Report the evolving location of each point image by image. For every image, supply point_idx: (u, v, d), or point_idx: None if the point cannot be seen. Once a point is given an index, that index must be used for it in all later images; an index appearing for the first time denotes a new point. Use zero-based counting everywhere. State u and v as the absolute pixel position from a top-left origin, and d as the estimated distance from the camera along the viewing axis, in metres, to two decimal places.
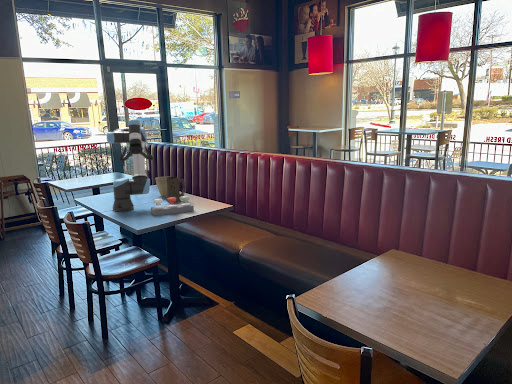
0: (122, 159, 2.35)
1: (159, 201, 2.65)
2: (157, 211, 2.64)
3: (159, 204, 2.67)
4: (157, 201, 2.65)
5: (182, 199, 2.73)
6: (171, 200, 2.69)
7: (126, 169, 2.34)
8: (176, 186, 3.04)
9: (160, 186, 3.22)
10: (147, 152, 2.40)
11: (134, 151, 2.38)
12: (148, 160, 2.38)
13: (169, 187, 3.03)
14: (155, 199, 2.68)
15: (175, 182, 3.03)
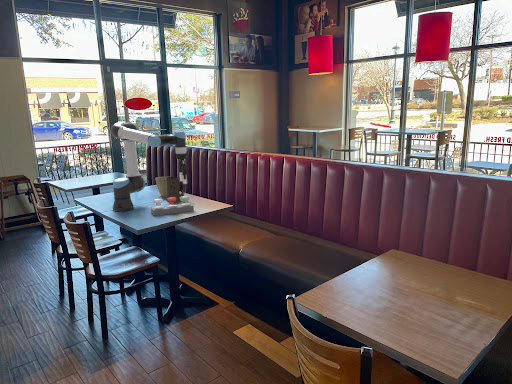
0: None
1: (159, 201, 2.65)
2: (157, 211, 2.64)
3: (159, 204, 2.67)
4: (157, 201, 2.65)
5: (182, 199, 2.73)
6: (171, 200, 2.69)
7: (183, 182, 2.64)
8: (176, 186, 3.04)
9: (160, 186, 3.22)
10: None
11: None
12: (182, 173, 2.77)
13: (169, 187, 3.03)
14: (155, 199, 2.68)
15: (175, 182, 3.03)
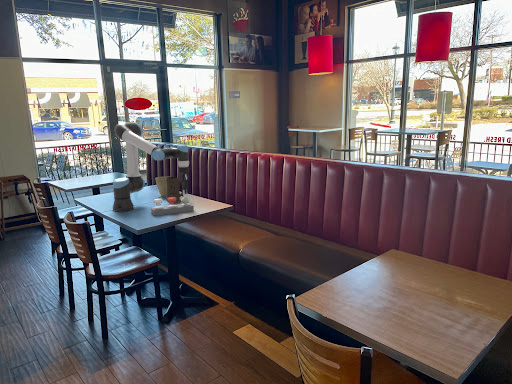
0: None
1: (159, 201, 2.65)
2: (157, 211, 2.64)
3: (159, 204, 2.67)
4: (157, 201, 2.65)
5: (182, 201, 2.74)
6: (171, 200, 2.69)
7: (184, 196, 2.75)
8: (176, 186, 3.04)
9: (160, 186, 3.22)
10: None
11: None
12: None
13: (169, 187, 3.03)
14: (155, 199, 2.68)
15: (175, 182, 3.03)
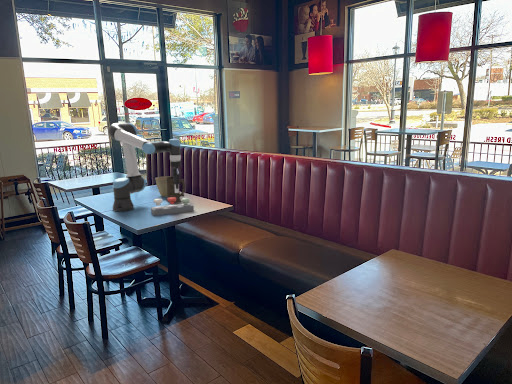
0: None
1: (159, 201, 2.65)
2: (157, 211, 2.64)
3: (159, 204, 2.67)
4: (157, 201, 2.65)
5: (182, 201, 2.74)
6: (171, 200, 2.69)
7: (175, 191, 2.72)
8: None
9: (160, 186, 3.22)
10: None
11: None
12: None
13: (169, 187, 3.03)
14: (155, 199, 2.68)
15: None
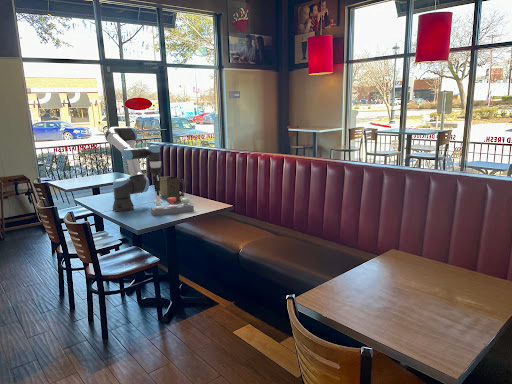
0: None
1: (159, 202, 2.65)
2: (157, 211, 2.64)
3: (159, 204, 2.67)
4: (157, 202, 2.65)
5: (182, 201, 2.74)
6: (171, 200, 2.69)
7: (156, 198, 2.66)
8: (176, 186, 3.04)
9: (160, 186, 3.22)
10: None
11: None
12: None
13: (169, 187, 3.03)
14: None
15: (175, 182, 3.03)
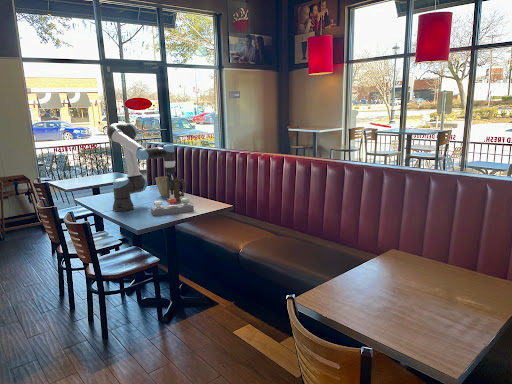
0: None
1: (159, 203, 2.65)
2: (157, 211, 2.64)
3: (159, 206, 2.67)
4: (157, 203, 2.65)
5: (182, 201, 2.74)
6: (171, 201, 2.69)
7: (170, 197, 2.71)
8: (176, 186, 3.04)
9: (160, 186, 3.22)
10: None
11: None
12: None
13: None
14: (155, 201, 2.68)
15: (175, 182, 3.03)
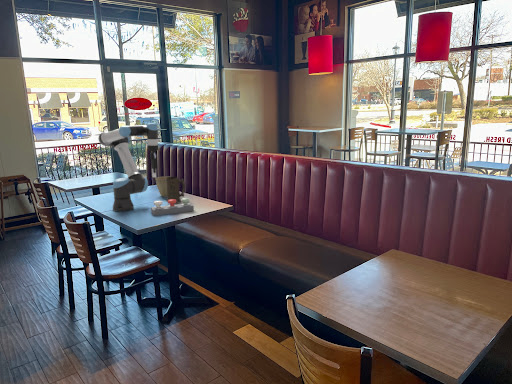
0: None
1: (159, 203, 2.65)
2: (157, 211, 2.64)
3: (159, 206, 2.67)
4: (157, 203, 2.65)
5: (182, 201, 2.74)
6: (171, 202, 2.69)
7: None
8: (176, 186, 3.04)
9: (160, 186, 3.22)
10: None
11: None
12: None
13: (169, 187, 3.03)
14: (155, 201, 2.68)
15: (175, 182, 3.03)
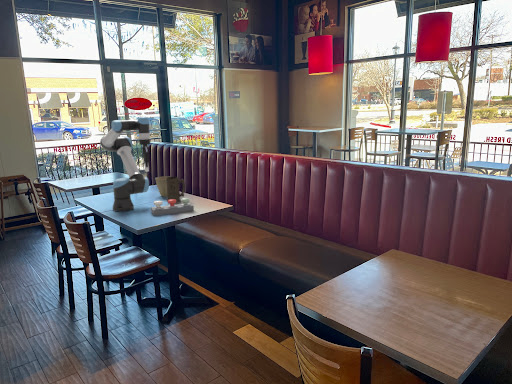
0: None
1: (159, 203, 2.65)
2: (157, 211, 2.64)
3: (159, 206, 2.67)
4: (157, 203, 2.65)
5: (182, 201, 2.74)
6: (171, 202, 2.69)
7: (145, 169, 2.72)
8: (176, 186, 3.04)
9: (160, 186, 3.22)
10: None
11: None
12: None
13: (169, 187, 3.03)
14: (155, 201, 2.68)
15: (175, 182, 3.03)
